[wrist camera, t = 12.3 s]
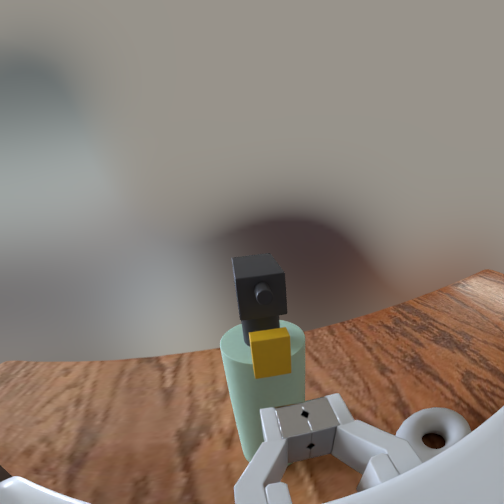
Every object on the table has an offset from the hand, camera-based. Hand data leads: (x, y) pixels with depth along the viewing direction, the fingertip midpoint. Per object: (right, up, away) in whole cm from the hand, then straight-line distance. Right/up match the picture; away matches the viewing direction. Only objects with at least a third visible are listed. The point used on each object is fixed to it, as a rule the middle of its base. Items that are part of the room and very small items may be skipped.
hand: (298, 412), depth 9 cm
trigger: (0, -2, +8) cm, 8 cm away
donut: (+18, -17, +10) cm, 27 cm away
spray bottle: (+1, -17, +17) cm, 23 cm away
